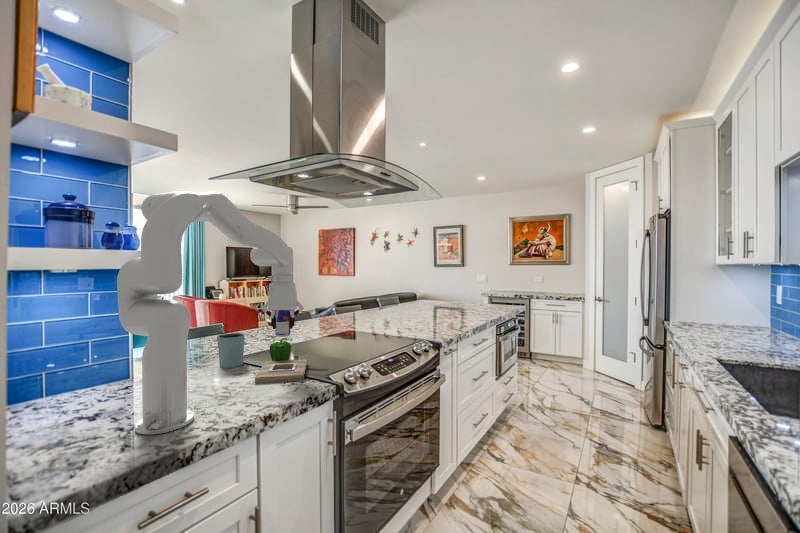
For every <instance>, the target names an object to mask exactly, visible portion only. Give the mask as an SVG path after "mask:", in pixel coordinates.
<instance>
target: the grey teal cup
mask: <svg viewBox="0 0 800 533" xmlns="http://www.w3.org/2000/svg"><path fill="white" fill-rule="evenodd" d="M216 341H217V347H218V348H217V350H218V357H219V358H218V362H219V367H220V368H223V369H232V368H238V367H241V366H243V365H244V360H245V359H244V351H245V350H244V347H245V333H242V332H231V333H223V334H219V335H217V336H216Z"/></svg>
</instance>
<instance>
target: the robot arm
mask: <svg viewBox="0 0 800 533" xmlns="http://www.w3.org/2000/svg"><path fill="white" fill-rule="evenodd" d="M140 208H141V214H142V215H143V217H144V219H145V220H146V222H145V224H144V225H143V227H142V232H141V236H140V257H133V258H131V259H129V260H127V261H125V262H124V264H122V265H121V267H120V269H119V272H118V274H117V280H116V287H117V289H116V290H117V307H118V317H119V322H120V325H121V326H122V328H123V330H125V332H126V333H129V334H132V335H136V336H144V337H147V339H146V342H145V344H144V347H143V350H142V355H141V373H142V374H141V375H142V376H141V377H142V378H141V384H142V385H141V386H142V387H141V391H142V393H141V394H142V397H141V398H142V417H141V419H139V420H138V421H137V422H136V423H135V424H134V432H136V433H137V434H140V435H153V436H154V435H159V434H167V433H170V432H173V430H174V431H176V429H177V430H179V429H182V428H184V427H186V426H187V424H188V425H189V424H191V423H192V421H193V420H194V419H195V413H194V411H192V410H191V409H188V392H187V391H188V367H187V366H188V364H187V362H188V361H187V358H188V354H187V350H188V348H187V347H188V337H189V331H190V326H191V321H192V317H191V312H190V310H189V308H188V307H187V306H186V305H185V304H184V303H182V302H180V301H177V300H173V299H164V298H163V299H161V298H158V295H169V294H173V293H176V292H177V291H178V290H179V289H180V288H181V286H182V284H183V263H182V262H183V261H182V241H183V236H184V234H185V232H186V230H187V229H188V228H189V226H190V225H192V223H200V222H209V223H210V224H212V225H213V226H214V227H216V228H217V229H218V230H219V231H220V232H221V233H222V234H224V235H225V236H226V237H227V238H228V239H229V240H231V241H232V242H234V243H237V244H240V245H244V246H248V247H253V248H252V249H251V251H250V254H249V258H250V260H251V262H252V263H253V264H254V265H256V266H258V267H271V275H270V276H267V281H271V283H269V286H268V292H267V302H266V303H265V304H264V305H263V306H262V307H261V311H263V313H265V314H266V315H267V316H268V317H269V318H270V321H271V322H270V326H271V328H272V330H275V312H276V311H280V310H284V311H290V315H291V318H290V328H291V330H292V329H293V327H295V318H296V316H297V315H298V314H299V313H301V311H303V310H304V306H303V304H301V302H300V301H299V300H298V295H297V294H298V293H297V284H296V283H295V282H294V250H293V247H291V246H289V245H288V244H287V243H286V242H285V241H284V240H283V239H282V238H281V237H280V236H279V235H278V234H276V233H275V232H273V231H271V230H269V229H268V228H265V227H263V226H262V225H259V224H257V223H255V222H253V221H252V220H250V219H249V218H248V217H247V216H246V214H244V213H243V212H242V211H241V209H239V208H238V207H237V206H236V205H235V204H234V203H233V202H232V201H231V200H230V199H229V198H228V197H227V196H226V195H224V194H223V193H221V192H217V191H209V192H208V191H207V192H206V191H205V192H198V193H197V192H192V191H184V190H180V191H179V190H178V191H171V192H164V193H163V192H161V193H155V194H154V193H153V194H151V195H148V196H147V197H145V198H144V200H143V201H142V203H141V206H140ZM297 307H298V309H297ZM169 431H170V432H169Z"/></svg>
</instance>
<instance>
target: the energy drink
mask: <svg viewBox="0 0 800 533" xmlns="http://www.w3.org/2000/svg"><path fill="white" fill-rule="evenodd" d="M290 318H291V314H290V311H284V310H280V311H276V312H275V329H274V332H275V336H276V337H278V338H287V337H289V336H291V332H292V331H291V330H292V329H291V328H290Z"/></svg>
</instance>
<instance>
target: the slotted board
mask: <svg viewBox="0 0 800 533" xmlns="http://www.w3.org/2000/svg"><path fill="white" fill-rule="evenodd" d="M306 366H308V359H289V360H286V361H272V360H270V361H267V360H266V361H265V362H264V363H263V365H262V366H261V368H260V369H259V371H258V372H257V374H256V375H255V376H254V384H264V383H267V384H269V383H285V382H298V381H299V382H300V381H304V378H305V376H304V374H305V375H306V372H305V370H306V371H307V367H306ZM277 369H285V370H277Z"/></svg>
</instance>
